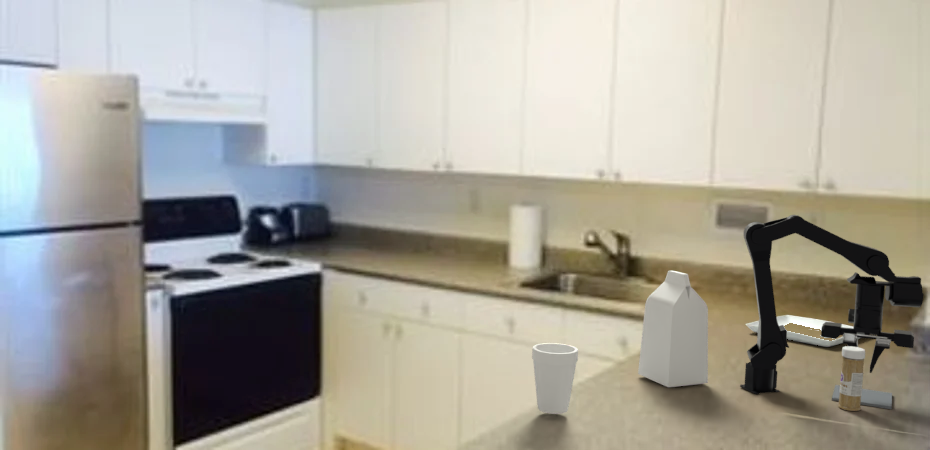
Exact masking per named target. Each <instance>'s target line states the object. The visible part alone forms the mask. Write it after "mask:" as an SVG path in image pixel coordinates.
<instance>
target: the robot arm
mask: <svg viewBox="0 0 930 450" xmlns="http://www.w3.org/2000/svg"><path fill="white" fill-rule="evenodd" d="M794 234H797V235H799V236H800V237H803V238H805V239H806V240H809V241H811V242H813V243H815V244H817V245H819V246H822V247H823V248H826V249H827V250H829V251H832V252H833V253H836V254H838V255H840V256H841V257H843V258H844V259H845V260H847V261H848V262H849V263H851V265H854V266H855V267H856V268H858V269H859V270H860V271H862V272H864V273H866V274H867V275H869V276H865V275H864V276H863V275H860V274H859V273H858V272H854V273H853V274H852V275H851V276H849V277H848V278H846V279H847V280H846V281H847V282H848V283H850V284H854V285H856V286H855V287H856V289H855V290H856V291H855V302H854V308H848V316H847V322H848V323H849V324H853V329H852V328H844V327H842V324H843V323H841V322H834V323H833V321H829V322H825V323H824V324H823V326H822V330H821V331H820V332H821V333H820V336H821V337H824V338H832V339H838V338H840V336H842V337H844V338H843V343H842V344H844V345H847V346H853V347H859V339H858V338H857V337H859V338H860V339H869V340H875V344H874V347H873V351H872V356H871V360H870V365H869V373H870V374H873V371H874V369H875V366H876V364H877V362H878V360H879V359H880V356H881V355H882V353H883V351H885V349H886V350H890V349H891V342H893V343H894V345H895V346H897V347H898V348H899V347H900V348H908V349H913V348H914V347H915V346H914V345H915V333H913V332H912V331H911V330H903V329H902V330H901V329H895V328H894V330H893V332H885V331H882V330H883V316H884V315H883V312H884V303H885V301H884V300H886V302H887V301H888V302H889V304H890V305H891V306H893V307H905V308H907V307H909V308H920V307H922V305H923V303H924V294H925V293H923V286H922V278H921V277H919V276H914V275H913V276H900V275H899V276H897V275H896V273H894V271H893V270H892V268H891V267H890V260H889V257H888V255H887V254H886V253H885V252H883V251H881V250H879V249H877V248H875V247H871V246H868V245H865V244H862V243H856V242H853V241H850V240H846V239H844V238H843V237H841V236H838V235H836V234H835V233H832V232H830V231H828V230H826V229H824V228H822V227H821V226H818V225H815V224H814V223H812V222H810V221H807V220H805V219H804V218H803V217H802V216H800V215H799V214H798V215H796V214H791V215H789V216H787V217H782V218H779V219H775V220H774V219H773V220H770V221H767V222H764V223H763V222H760V221H753V222H750V223H748V224H747V225H746V226H745V228H744V229H743V238H744V242H745V246H746V248H747V250H748V254H749V257H750V260H751V263H752V271H753V279H754V286H755V295H756V303H757V311H758V317H759V319H758V321H759V326H758V333H757V337H756V338H757V339H756V340H757V342H756V343H755V344H754V345H753V346H751V347H750V348H749V349H748V350H747V351H746V354H747V358H748V359H749V362H745V372H744V383H743V384H740V385H739V387H740V388H742V389H744V390H746V391H748V392H749V393H753V394H755V395H760V394H769V393H779V392H780V390H779V389H777V386H778V385H777V384H778V371H777V365H778V364H777V363H778V362H780V361H781V360H782V359H783V358H784V357H785V356H786V355H787V348H788V349H789V348H790V346H789V344H788V340H787V339H786V338H787V330H786V329H785V327H784V326H783V325H781V326H779V325H778V322H777V317H778V316H777V311H776V303H775V301H776V300H775V294H774V286H773V285H774V284H773V278H772V277H773V276H772V271H771V268H772V267H771V255H772V249H773V248H772V246H773V245H772V244H773V242H774V241H778V240H780V239H783V238H786V237H788V236H791V235H794ZM875 277H879V278H881V279H882V280H884V281H878V280H876V278H875ZM859 333H860V334H859ZM861 333H862V334H861Z"/></svg>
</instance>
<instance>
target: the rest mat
mask: <svg viewBox="0 0 930 450" xmlns="http://www.w3.org/2000/svg"><path fill="white" fill-rule="evenodd" d="M839 397H840V384H835V385H834V389H833V391H832V396H831V401H835V402H839ZM892 404H893V392H889V391H888V392H886V391H881V390H880V391H879V390H873V389H867V388H862V395H861V403H860V406H868V407H873V408H882V409H889V410H892V409H893V408H892V406H893V405H892Z"/></svg>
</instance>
